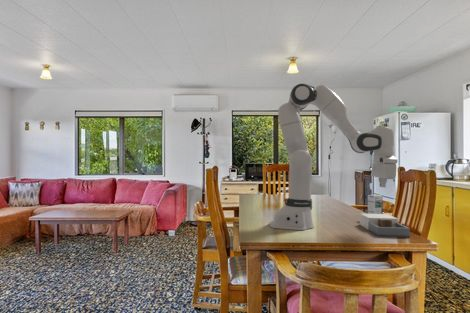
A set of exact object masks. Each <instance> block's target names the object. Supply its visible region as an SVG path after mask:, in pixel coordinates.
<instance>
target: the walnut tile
mask: <svg viewBox="0 0 470 313" xmlns="http://www.w3.org/2000/svg"><path fill="white" fill-rule="evenodd" d="M378 226H379V227H392V220H390V219H379V224H378Z"/></svg>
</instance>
